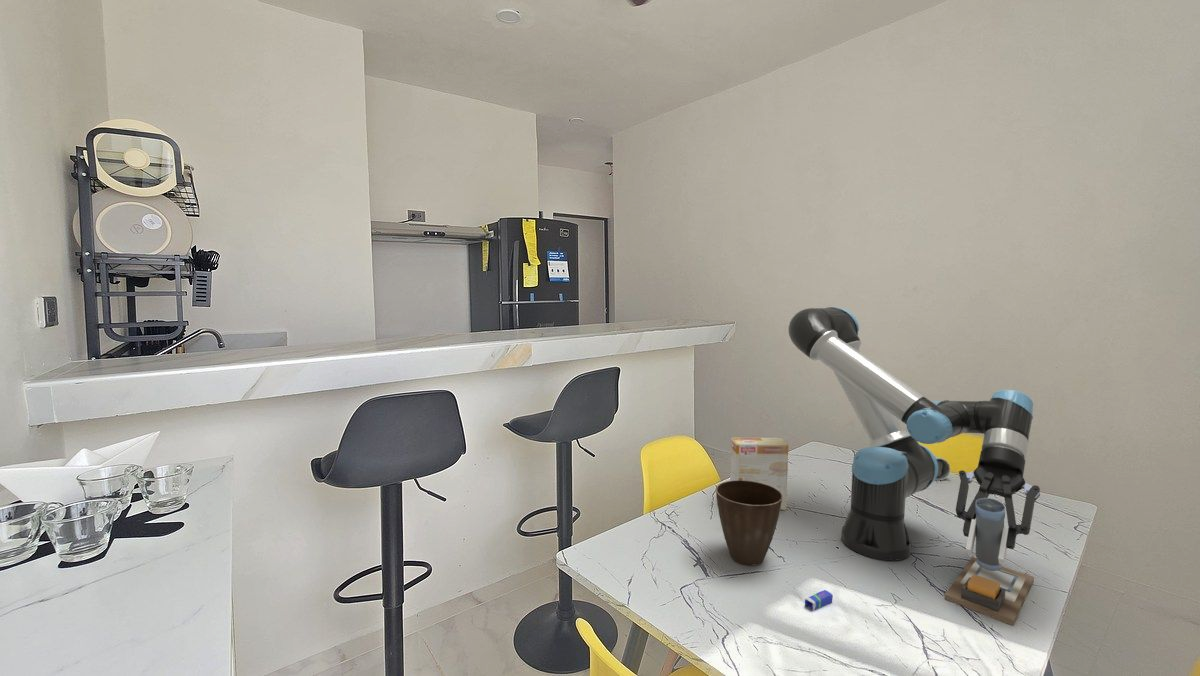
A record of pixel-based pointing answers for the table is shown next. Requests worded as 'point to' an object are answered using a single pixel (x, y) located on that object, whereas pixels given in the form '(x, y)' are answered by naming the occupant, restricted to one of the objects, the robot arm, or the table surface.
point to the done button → (984, 586)
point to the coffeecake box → (761, 462)
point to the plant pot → (748, 518)
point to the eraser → (819, 599)
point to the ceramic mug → (942, 469)
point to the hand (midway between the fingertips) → (984, 556)
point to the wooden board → (1002, 608)
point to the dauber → (989, 532)
